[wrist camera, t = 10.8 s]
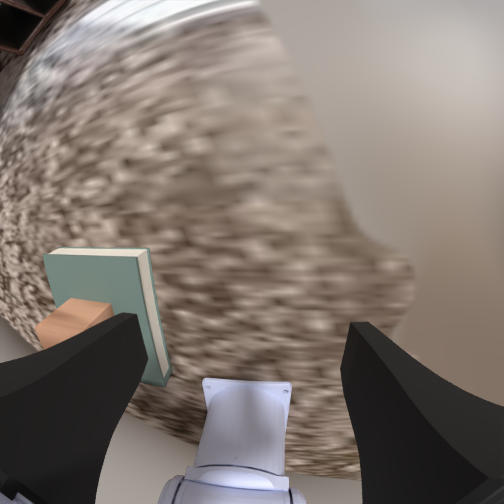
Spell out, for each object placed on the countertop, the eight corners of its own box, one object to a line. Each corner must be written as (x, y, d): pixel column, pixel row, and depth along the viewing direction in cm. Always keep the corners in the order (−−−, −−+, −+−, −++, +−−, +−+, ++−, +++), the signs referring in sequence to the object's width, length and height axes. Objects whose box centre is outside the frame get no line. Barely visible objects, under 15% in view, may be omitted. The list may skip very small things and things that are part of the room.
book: (172, 369, 23) (164, 387, 21) (90, 352, 24) (79, 366, 21) (150, 246, 19) (135, 258, 17) (59, 246, 20) (42, 254, 18)
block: (124, 350, 20) (96, 389, 15) (85, 341, 20) (55, 374, 15) (111, 303, 18) (75, 339, 14) (70, 297, 19) (34, 327, 14)
